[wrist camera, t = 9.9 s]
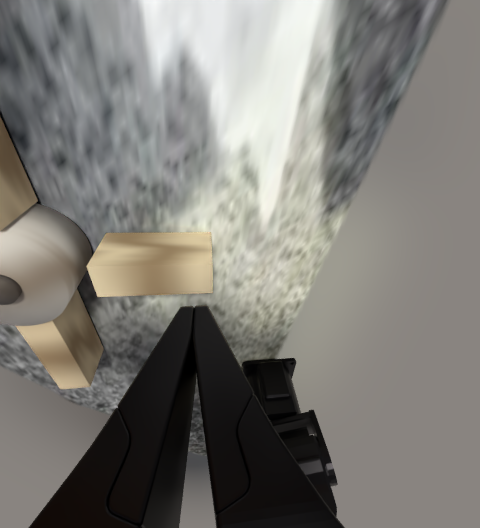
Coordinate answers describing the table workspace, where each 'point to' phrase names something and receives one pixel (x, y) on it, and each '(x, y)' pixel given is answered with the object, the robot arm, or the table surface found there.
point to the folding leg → (152, 264)
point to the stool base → (44, 277)
